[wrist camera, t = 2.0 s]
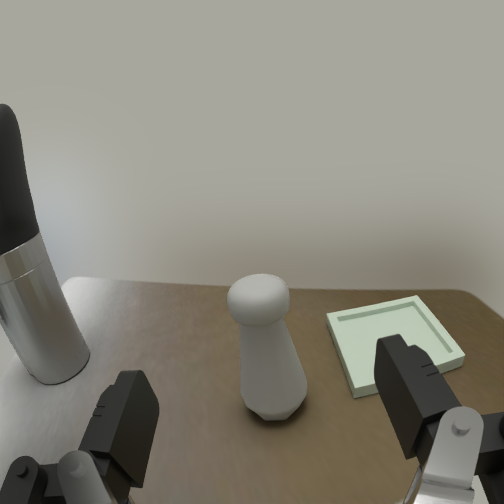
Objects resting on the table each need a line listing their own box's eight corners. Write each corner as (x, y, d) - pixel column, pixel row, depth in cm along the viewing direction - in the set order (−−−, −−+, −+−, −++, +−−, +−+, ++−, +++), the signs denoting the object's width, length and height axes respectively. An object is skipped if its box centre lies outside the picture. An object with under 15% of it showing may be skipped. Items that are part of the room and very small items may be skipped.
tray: (353, 398, 25) (355, 388, 25) (326, 323, 36) (326, 313, 36) (461, 365, 25) (465, 355, 24) (415, 305, 36) (416, 295, 35)
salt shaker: (265, 375, 30) (244, 259, 25) (318, 390, 27) (312, 268, 22) (233, 415, 26) (196, 297, 21) (289, 437, 23) (272, 314, 18)
